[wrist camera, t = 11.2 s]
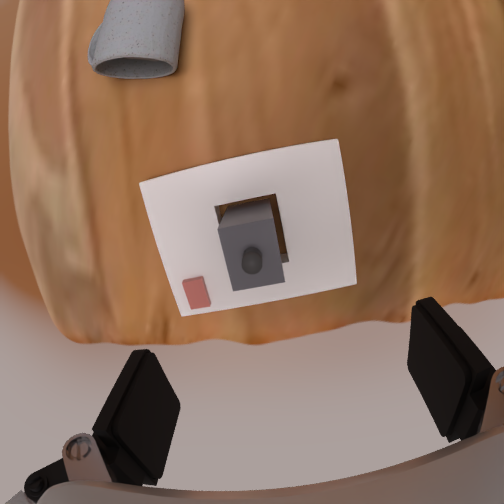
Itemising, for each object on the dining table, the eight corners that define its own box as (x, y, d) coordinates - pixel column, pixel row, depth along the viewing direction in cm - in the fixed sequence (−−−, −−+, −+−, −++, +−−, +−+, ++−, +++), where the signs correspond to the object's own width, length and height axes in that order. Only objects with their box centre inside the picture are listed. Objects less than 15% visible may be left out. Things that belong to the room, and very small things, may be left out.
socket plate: (331, 139, 26) (340, 138, 24) (350, 273, 31) (358, 287, 28) (147, 179, 28) (136, 184, 25) (186, 304, 33) (180, 320, 30)
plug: (269, 198, 29) (274, 224, 20) (278, 247, 30) (287, 292, 21) (227, 206, 29) (214, 235, 20) (239, 254, 31) (231, 301, 22)
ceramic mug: (194, 5, 22) (174, -30, 15) (186, 76, 25) (160, 55, 17) (100, 20, 22) (63, -3, 15) (91, 86, 25) (47, 76, 17)
